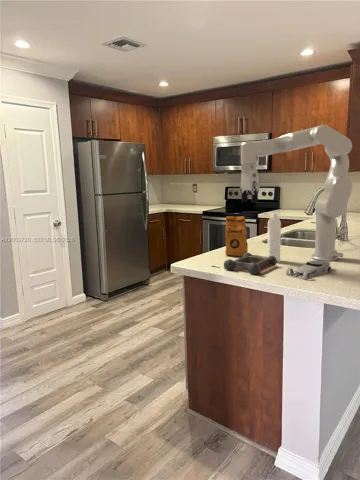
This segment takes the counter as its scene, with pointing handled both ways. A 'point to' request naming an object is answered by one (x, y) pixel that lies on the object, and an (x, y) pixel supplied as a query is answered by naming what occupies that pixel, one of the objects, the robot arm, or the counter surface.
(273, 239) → the water bottle
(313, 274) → the car model
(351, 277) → the counter surface
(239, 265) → the chassis
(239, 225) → the coffee package
